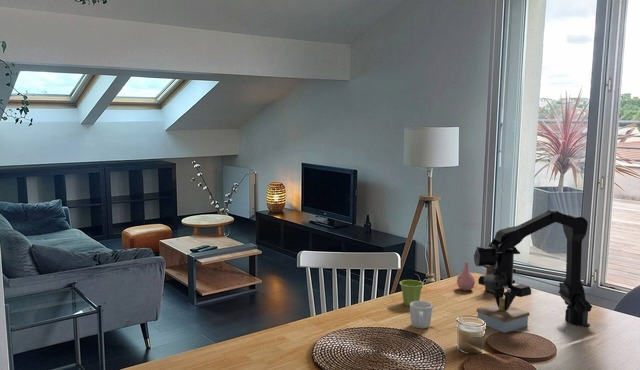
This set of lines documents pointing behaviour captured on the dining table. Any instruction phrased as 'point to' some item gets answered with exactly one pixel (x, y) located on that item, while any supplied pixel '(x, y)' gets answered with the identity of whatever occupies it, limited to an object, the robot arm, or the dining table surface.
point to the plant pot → (411, 291)
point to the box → (502, 325)
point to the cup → (420, 314)
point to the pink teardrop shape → (465, 279)
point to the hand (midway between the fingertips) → (502, 308)
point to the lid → (503, 311)
